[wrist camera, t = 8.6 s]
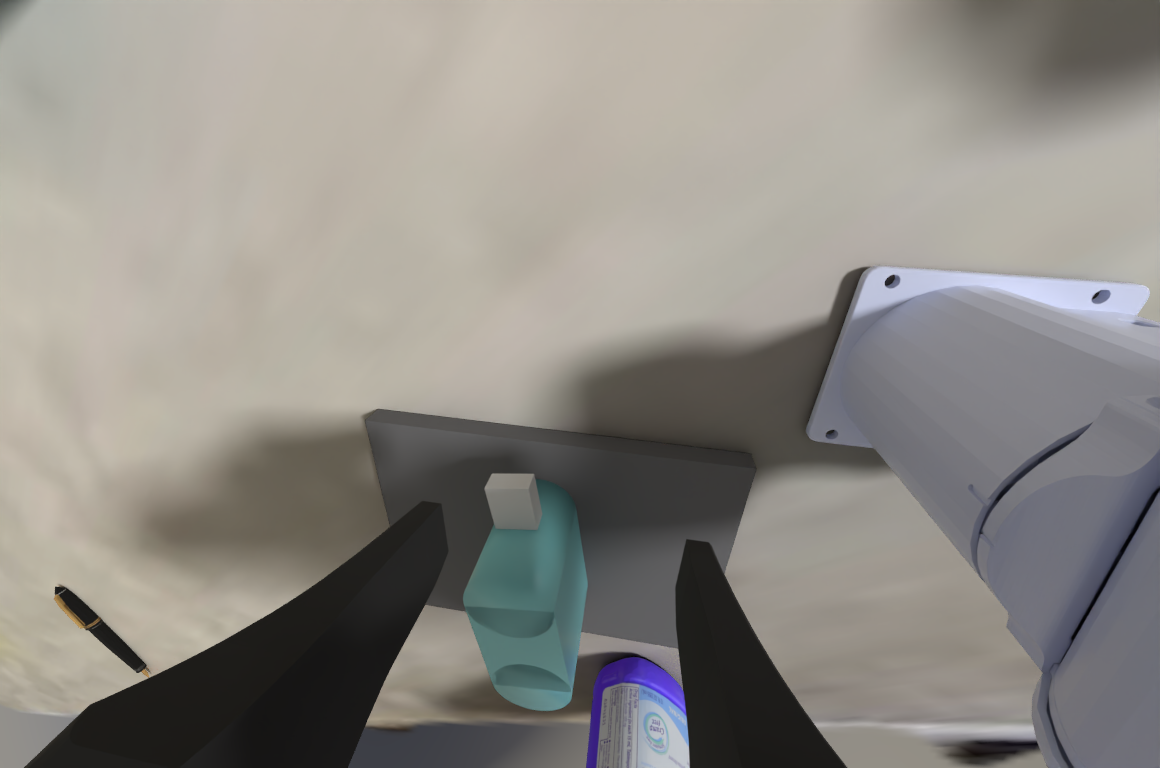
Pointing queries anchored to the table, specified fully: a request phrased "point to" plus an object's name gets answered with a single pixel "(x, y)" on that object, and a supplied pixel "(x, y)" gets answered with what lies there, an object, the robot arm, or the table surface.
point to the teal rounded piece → (529, 592)
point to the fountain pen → (97, 627)
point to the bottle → (637, 718)
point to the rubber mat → (601, 495)
